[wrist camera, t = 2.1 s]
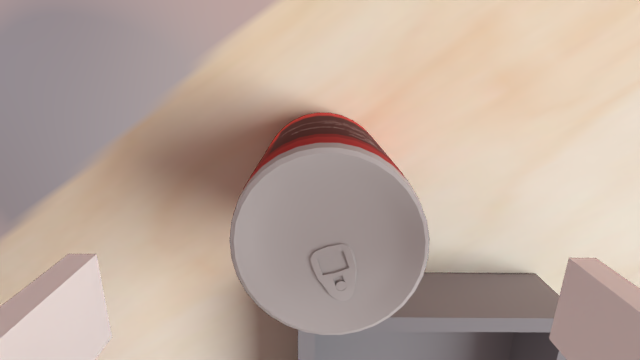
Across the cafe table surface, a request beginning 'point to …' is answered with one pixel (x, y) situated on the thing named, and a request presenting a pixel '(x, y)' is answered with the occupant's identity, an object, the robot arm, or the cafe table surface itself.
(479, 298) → the box
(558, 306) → the robot arm
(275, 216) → the canned food
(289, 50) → the cafe table surface
